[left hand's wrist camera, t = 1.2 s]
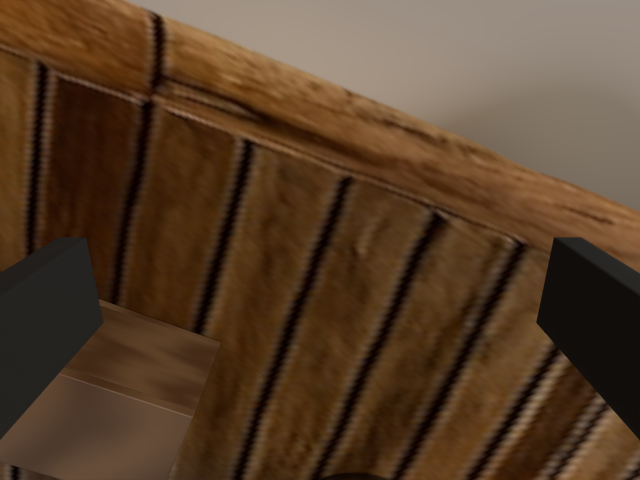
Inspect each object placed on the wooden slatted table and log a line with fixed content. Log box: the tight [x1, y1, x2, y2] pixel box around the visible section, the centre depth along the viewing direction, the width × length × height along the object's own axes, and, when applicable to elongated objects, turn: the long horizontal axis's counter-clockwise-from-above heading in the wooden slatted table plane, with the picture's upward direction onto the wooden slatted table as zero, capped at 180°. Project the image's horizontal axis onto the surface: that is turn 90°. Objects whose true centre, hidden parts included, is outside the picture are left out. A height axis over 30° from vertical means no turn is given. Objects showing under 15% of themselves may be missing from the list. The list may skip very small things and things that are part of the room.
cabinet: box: [0, 299, 220, 480], centre depth 38 cm, size 19×11×10 cm, turn 67°
